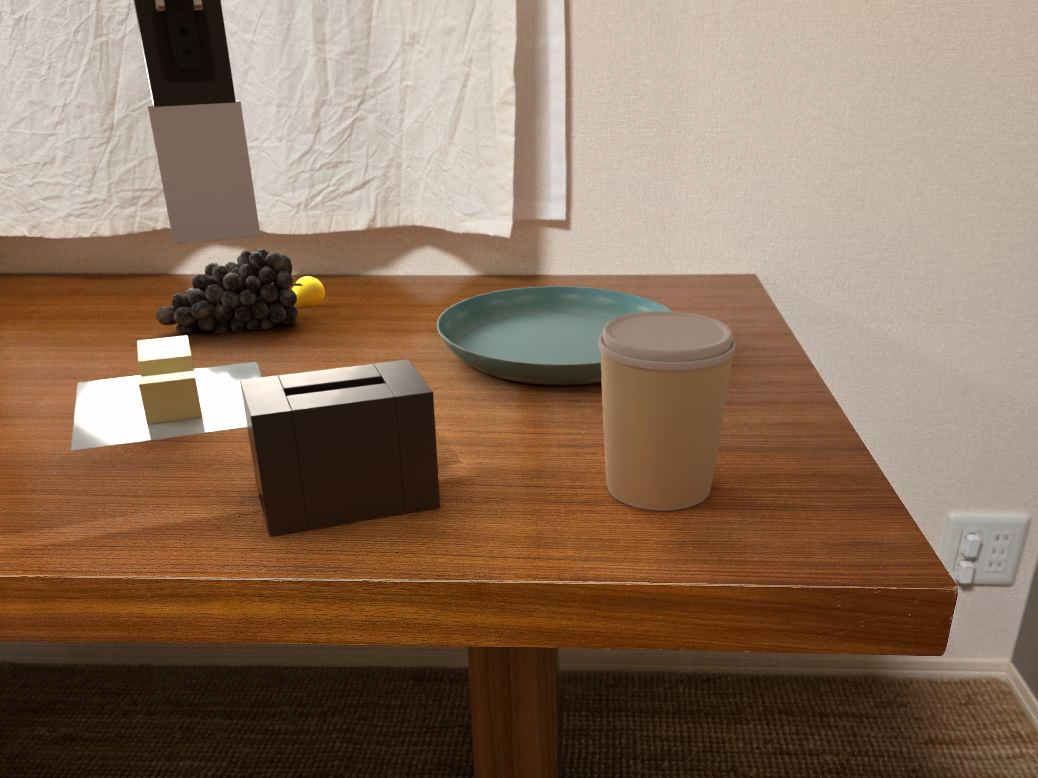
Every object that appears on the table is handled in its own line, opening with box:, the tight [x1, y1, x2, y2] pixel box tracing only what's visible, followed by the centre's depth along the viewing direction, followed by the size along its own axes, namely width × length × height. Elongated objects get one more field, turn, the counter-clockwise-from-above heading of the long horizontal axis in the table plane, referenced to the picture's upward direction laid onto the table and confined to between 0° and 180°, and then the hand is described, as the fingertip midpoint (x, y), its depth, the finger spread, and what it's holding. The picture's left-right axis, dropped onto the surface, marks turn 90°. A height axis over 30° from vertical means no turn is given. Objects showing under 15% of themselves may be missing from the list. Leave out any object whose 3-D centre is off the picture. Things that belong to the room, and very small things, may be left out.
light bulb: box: [291, 275, 326, 309], centre depth 114 cm, size 3×6×4 cm, turn 140°
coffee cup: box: [599, 310, 737, 512], centre depth 72 cm, size 9×9×12 cm
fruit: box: [155, 247, 303, 336], centre depth 105 cm, size 9×8×15 cm
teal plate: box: [436, 285, 673, 386], centre depth 100 cm, size 24×24×3 cm
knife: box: [133, 0, 261, 245], centre depth 68 cm, size 6×2×16 cm, turn 111°
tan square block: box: [138, 371, 202, 424], centre depth 83 cm, size 4×2×4 cm, turn 110°
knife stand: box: [240, 359, 441, 537], centre depth 71 cm, size 12×7×9 cm, turn 110°
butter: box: [136, 335, 198, 390], centre depth 90 cm, size 4×6×4 cm
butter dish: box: [70, 361, 263, 452], centre depth 88 cm, size 16×16×1 cm
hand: (188, 77), depth 66 cm, fingers closed on knife, 2 cm apart
